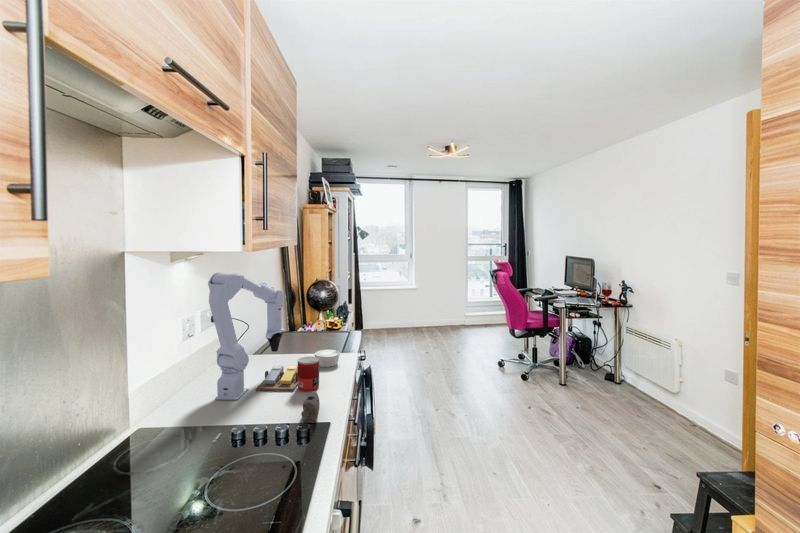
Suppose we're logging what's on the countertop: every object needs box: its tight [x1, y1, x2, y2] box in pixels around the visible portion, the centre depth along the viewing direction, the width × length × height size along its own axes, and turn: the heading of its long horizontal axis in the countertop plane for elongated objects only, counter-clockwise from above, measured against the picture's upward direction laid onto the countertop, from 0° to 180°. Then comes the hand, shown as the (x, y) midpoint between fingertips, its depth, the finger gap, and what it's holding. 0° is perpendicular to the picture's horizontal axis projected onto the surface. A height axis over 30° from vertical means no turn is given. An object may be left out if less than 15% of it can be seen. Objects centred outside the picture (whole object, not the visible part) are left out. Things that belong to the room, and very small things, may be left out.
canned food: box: [297, 356, 320, 392], centre depth 136 cm, size 8×8×11 cm
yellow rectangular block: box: [280, 365, 298, 384], centre depth 141 cm, size 10×4×2 cm, turn 179°
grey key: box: [263, 364, 284, 384], centre depth 141 cm, size 10×4×2 cm, turn 179°
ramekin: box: [314, 349, 341, 368], centre depth 164 cm, size 11×11×5 cm
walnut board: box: [255, 370, 298, 392], centre depth 141 cm, size 16×14×4 cm
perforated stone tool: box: [301, 391, 321, 424], centre depth 115 cm, size 15×5×7 cm, turn 7°
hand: (274, 351), depth 150 cm, fingers closed
